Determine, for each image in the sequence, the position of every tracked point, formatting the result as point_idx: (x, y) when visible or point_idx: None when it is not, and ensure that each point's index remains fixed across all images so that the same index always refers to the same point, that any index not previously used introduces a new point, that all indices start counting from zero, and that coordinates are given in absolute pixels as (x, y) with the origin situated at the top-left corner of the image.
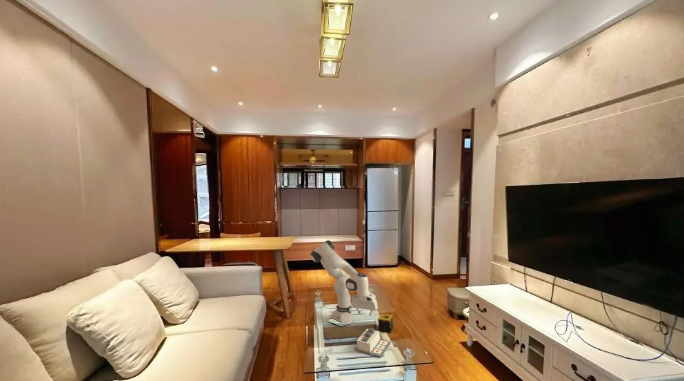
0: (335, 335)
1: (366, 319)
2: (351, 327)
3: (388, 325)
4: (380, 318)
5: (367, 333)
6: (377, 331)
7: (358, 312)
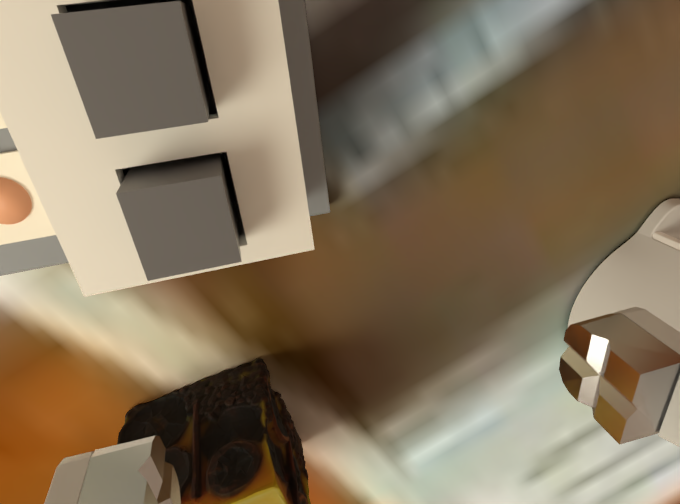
0: (670, 19)
1: (475, 430)
2: (553, 259)
3: None
4: None
5: (132, 43)
6: (111, 279)
7: (648, 334)
